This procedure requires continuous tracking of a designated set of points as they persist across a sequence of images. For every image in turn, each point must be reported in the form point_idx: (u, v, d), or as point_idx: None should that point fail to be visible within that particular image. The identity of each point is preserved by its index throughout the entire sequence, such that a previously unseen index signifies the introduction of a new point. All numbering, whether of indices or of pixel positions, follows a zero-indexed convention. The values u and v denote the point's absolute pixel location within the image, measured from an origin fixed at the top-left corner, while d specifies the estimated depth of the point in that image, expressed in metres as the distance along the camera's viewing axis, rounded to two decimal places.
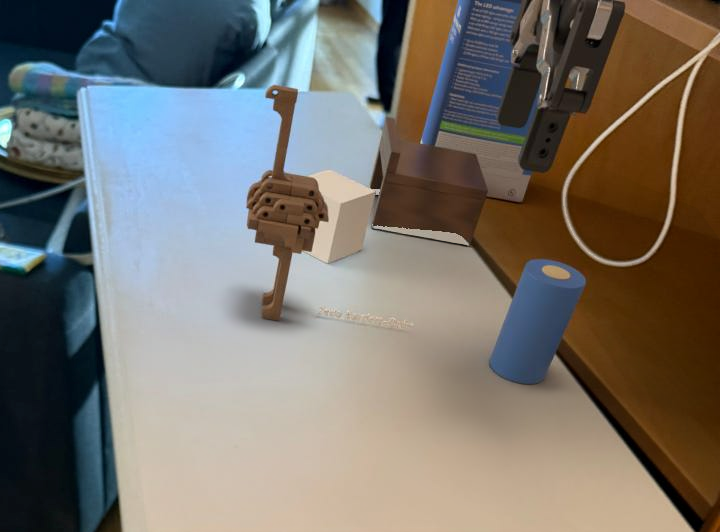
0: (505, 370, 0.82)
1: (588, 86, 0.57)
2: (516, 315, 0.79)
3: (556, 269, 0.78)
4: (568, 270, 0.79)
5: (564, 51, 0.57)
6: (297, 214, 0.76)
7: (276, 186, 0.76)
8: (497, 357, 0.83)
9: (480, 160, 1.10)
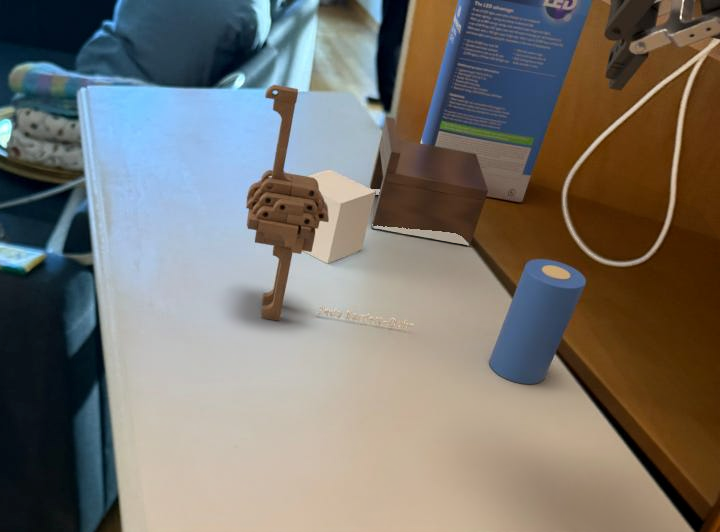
0: (505, 370, 0.82)
1: None
2: (516, 315, 0.79)
3: (556, 269, 0.78)
4: (568, 270, 0.79)
5: None
6: (297, 214, 0.76)
7: (276, 186, 0.76)
8: (497, 357, 0.83)
9: (480, 160, 1.10)
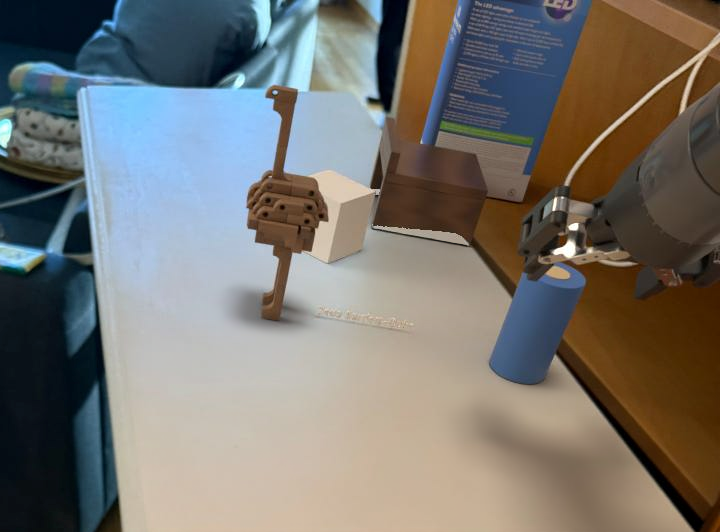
0: (505, 370, 0.82)
1: None
2: (516, 315, 0.79)
3: (556, 269, 0.78)
4: (568, 270, 0.79)
5: (713, 271, 0.64)
6: (297, 214, 0.76)
7: (276, 186, 0.76)
8: (497, 357, 0.83)
9: (480, 160, 1.10)
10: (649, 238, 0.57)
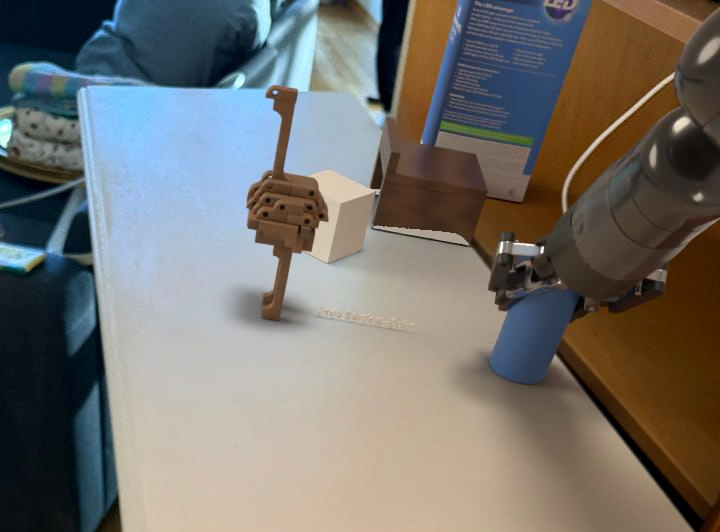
0: (505, 370, 0.82)
1: None
2: (516, 315, 0.79)
3: None
4: None
5: (631, 301, 0.75)
6: (297, 214, 0.76)
7: (276, 186, 0.76)
8: (497, 357, 0.83)
9: (480, 160, 1.10)
10: (581, 274, 0.67)
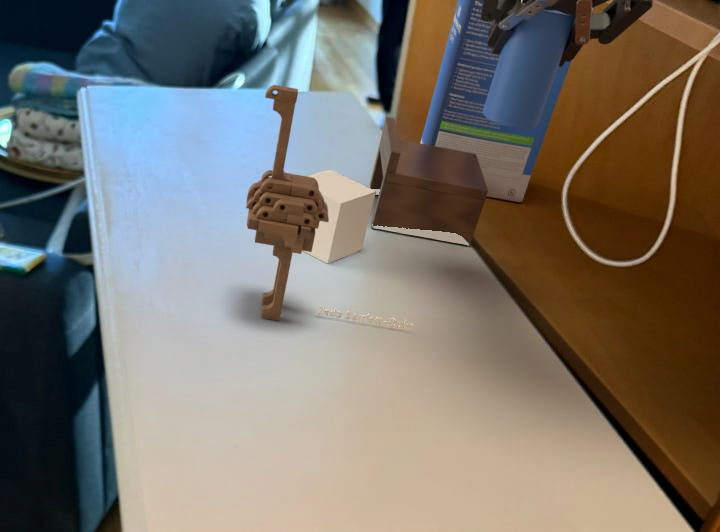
0: (498, 114, 0.84)
1: None
2: (509, 51, 0.81)
3: None
4: None
5: (620, 21, 0.77)
6: (297, 214, 0.76)
7: (276, 186, 0.76)
8: (490, 102, 0.84)
9: (480, 160, 1.10)
10: None
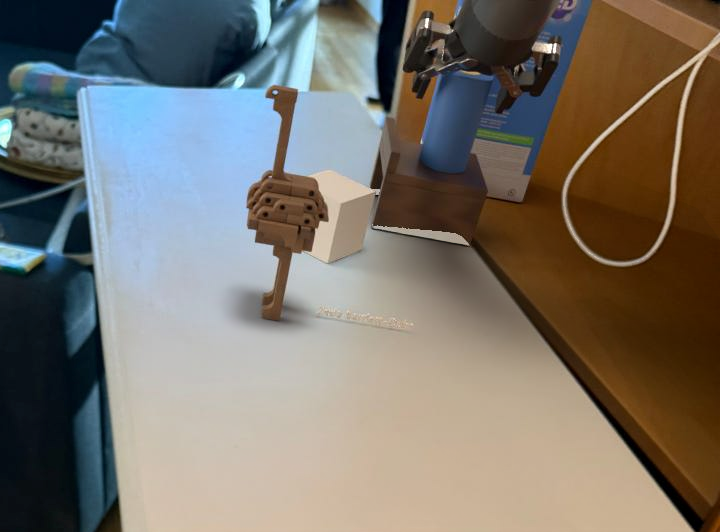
0: (430, 161, 0.99)
1: None
2: (437, 109, 0.96)
3: None
4: None
5: (539, 78, 0.91)
6: (297, 214, 0.76)
7: (276, 186, 0.76)
8: (424, 151, 0.99)
9: (480, 160, 1.10)
10: (480, 38, 0.83)
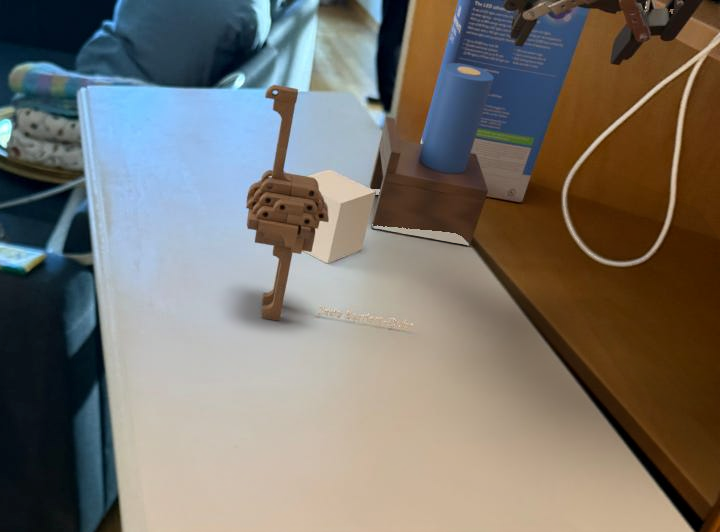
0: (430, 161, 0.99)
1: None
2: (437, 109, 0.96)
3: (469, 69, 0.95)
4: (480, 71, 0.96)
5: (677, 16, 0.73)
6: (297, 214, 0.76)
7: (276, 186, 0.76)
8: (424, 151, 0.99)
9: (480, 160, 1.10)
10: None
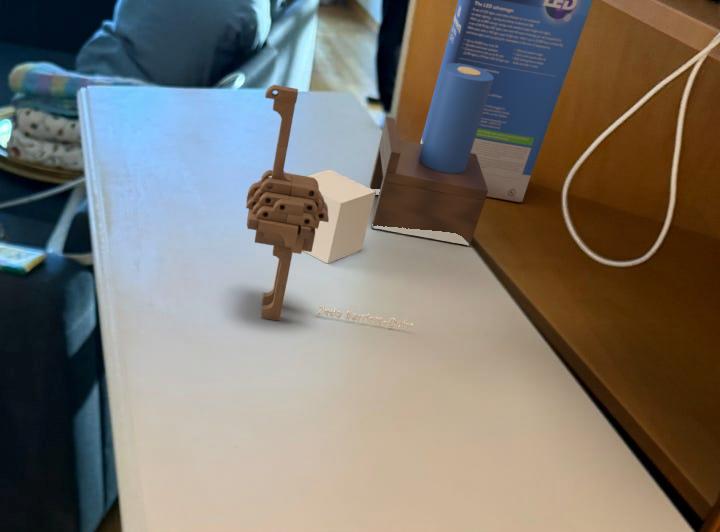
0: (430, 161, 0.99)
1: None
2: (437, 109, 0.96)
3: (469, 69, 0.95)
4: (480, 71, 0.96)
5: None
6: (297, 214, 0.76)
7: (276, 186, 0.76)
8: (424, 151, 0.99)
9: (480, 160, 1.10)
10: None
